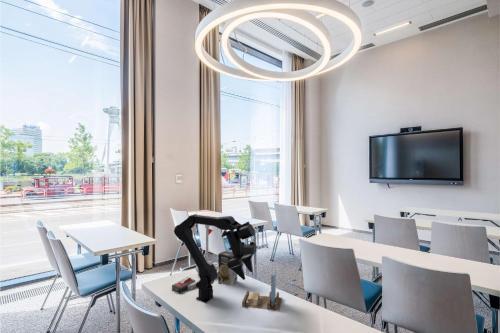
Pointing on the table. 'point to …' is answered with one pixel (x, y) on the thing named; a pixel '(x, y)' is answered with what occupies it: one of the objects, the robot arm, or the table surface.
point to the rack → (264, 302)
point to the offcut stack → (252, 299)
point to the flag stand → (207, 249)
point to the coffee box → (225, 269)
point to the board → (273, 287)
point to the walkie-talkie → (184, 285)
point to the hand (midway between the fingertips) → (248, 275)
